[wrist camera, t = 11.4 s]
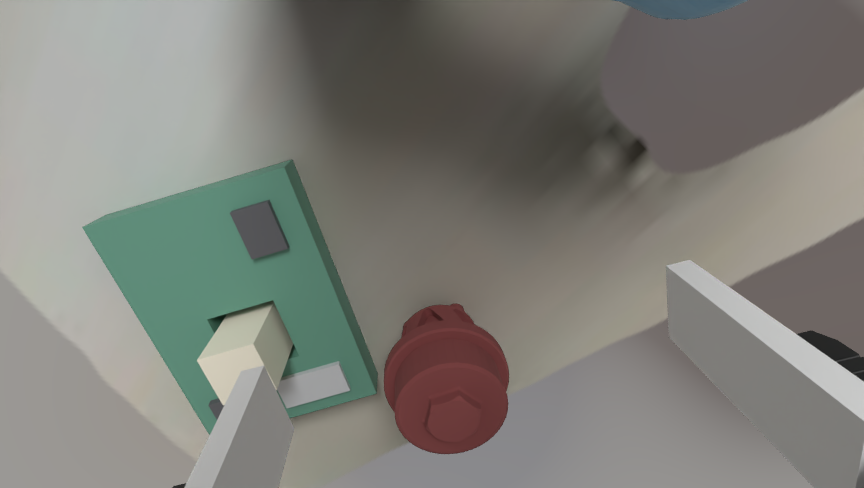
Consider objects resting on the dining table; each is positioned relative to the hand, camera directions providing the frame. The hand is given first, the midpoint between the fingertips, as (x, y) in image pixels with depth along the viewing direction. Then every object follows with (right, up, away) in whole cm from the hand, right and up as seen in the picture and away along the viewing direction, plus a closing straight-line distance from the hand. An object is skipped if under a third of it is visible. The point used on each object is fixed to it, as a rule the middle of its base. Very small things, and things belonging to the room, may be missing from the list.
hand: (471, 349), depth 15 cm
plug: (-17, -4, +27) cm, 32 cm away
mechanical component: (-1, -5, +29) cm, 30 cm away
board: (-17, -2, +26) cm, 32 cm away
